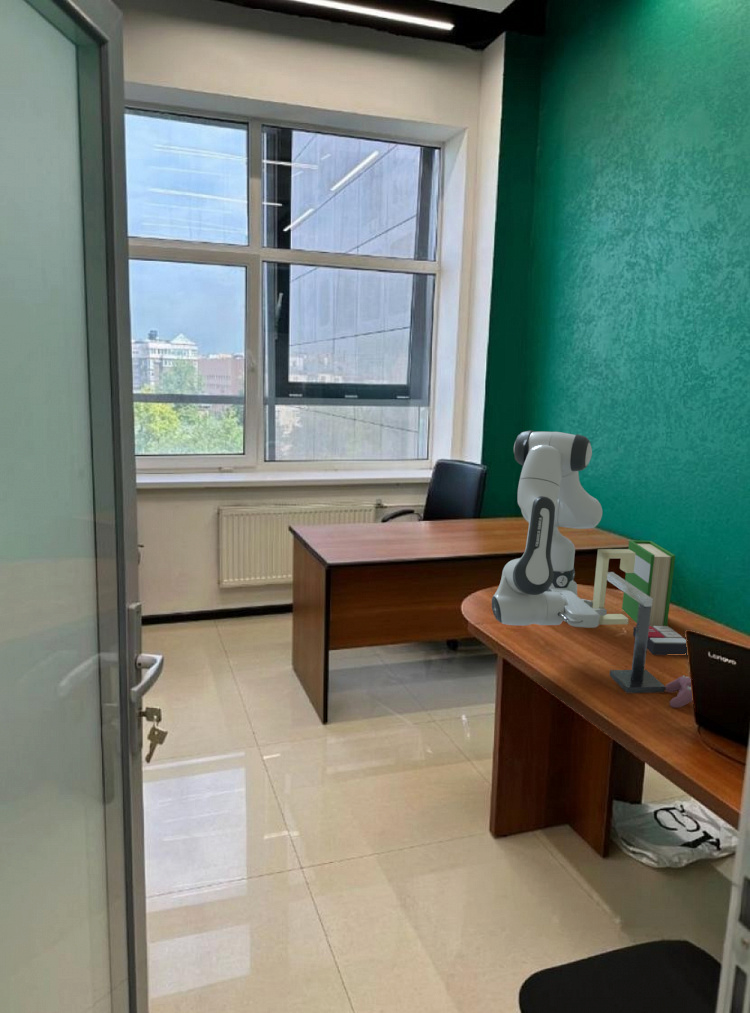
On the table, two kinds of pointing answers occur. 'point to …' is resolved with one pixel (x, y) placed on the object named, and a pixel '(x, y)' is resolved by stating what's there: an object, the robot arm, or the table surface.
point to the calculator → (664, 641)
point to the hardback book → (651, 580)
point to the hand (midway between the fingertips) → (601, 607)
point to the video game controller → (680, 691)
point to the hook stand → (636, 644)
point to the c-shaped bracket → (601, 580)
